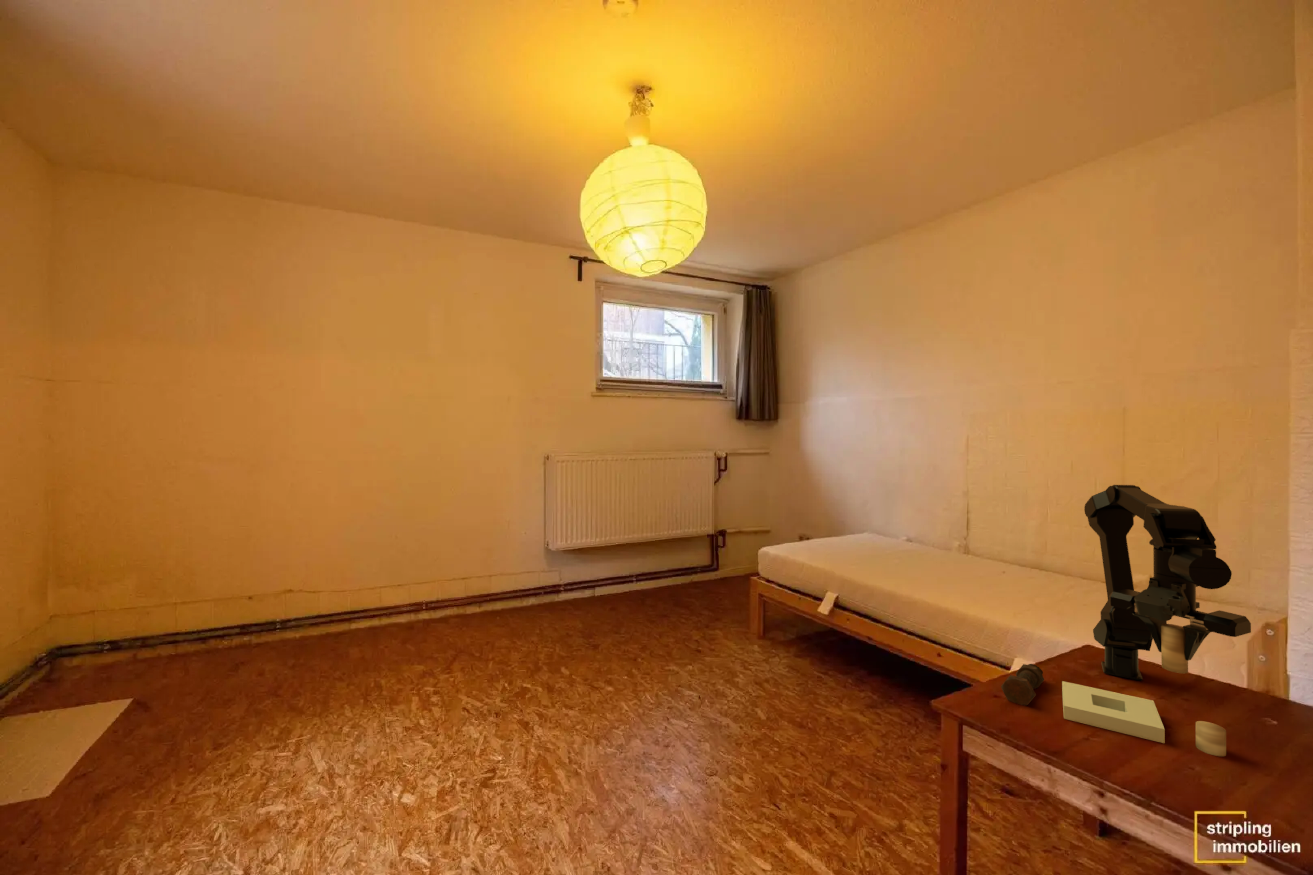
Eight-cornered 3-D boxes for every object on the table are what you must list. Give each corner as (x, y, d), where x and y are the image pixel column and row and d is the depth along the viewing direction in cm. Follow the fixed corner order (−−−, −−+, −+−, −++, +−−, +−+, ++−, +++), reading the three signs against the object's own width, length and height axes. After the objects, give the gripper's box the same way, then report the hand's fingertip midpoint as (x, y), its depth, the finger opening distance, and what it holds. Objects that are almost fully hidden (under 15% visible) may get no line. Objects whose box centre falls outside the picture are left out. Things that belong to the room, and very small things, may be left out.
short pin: (1193, 741, 93) (1193, 718, 93) (1223, 748, 91) (1222, 725, 91) (1198, 751, 90) (1198, 728, 90) (1228, 758, 88) (1228, 735, 88)
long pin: (1168, 663, 102) (1167, 622, 102) (1192, 671, 99) (1192, 628, 99) (1157, 666, 101) (1156, 625, 101) (1181, 674, 98) (1181, 631, 98)
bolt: (1038, 688, 116) (1021, 711, 106) (1015, 671, 119) (996, 691, 109) (1054, 670, 114) (1038, 691, 104) (1030, 652, 117) (1012, 671, 107)
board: (1062, 692, 110) (1062, 680, 110) (1153, 713, 102) (1153, 700, 102) (1063, 718, 101) (1063, 705, 101) (1164, 743, 92) (1164, 729, 92)
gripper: (1091, 566, 106) (1092, 644, 106) (1217, 593, 88) (1217, 685, 88) (1125, 561, 110) (1126, 635, 110) (1252, 585, 92) (1252, 673, 92)
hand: (1174, 655), depth 100 cm, fingers closed on long pin, 4 cm apart
